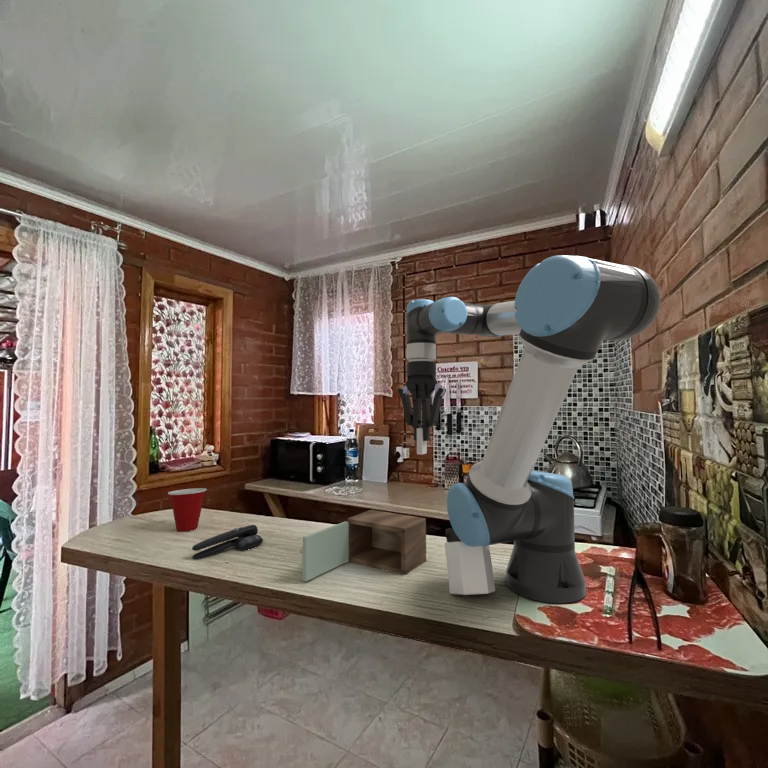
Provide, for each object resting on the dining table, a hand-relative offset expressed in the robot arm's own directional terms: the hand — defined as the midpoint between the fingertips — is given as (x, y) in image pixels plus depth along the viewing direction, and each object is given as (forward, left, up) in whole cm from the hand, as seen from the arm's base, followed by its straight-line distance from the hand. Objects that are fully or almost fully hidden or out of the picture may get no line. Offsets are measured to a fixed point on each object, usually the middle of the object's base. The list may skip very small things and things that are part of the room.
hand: (421, 453), depth 106 cm
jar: (-19, +15, -25) cm, 35 cm away
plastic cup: (+71, +19, -25) cm, 78 cm away
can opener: (+44, +25, -25) cm, 56 cm away
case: (+5, +9, -25) cm, 27 cm away
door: (+14, +22, -24) cm, 35 cm away
